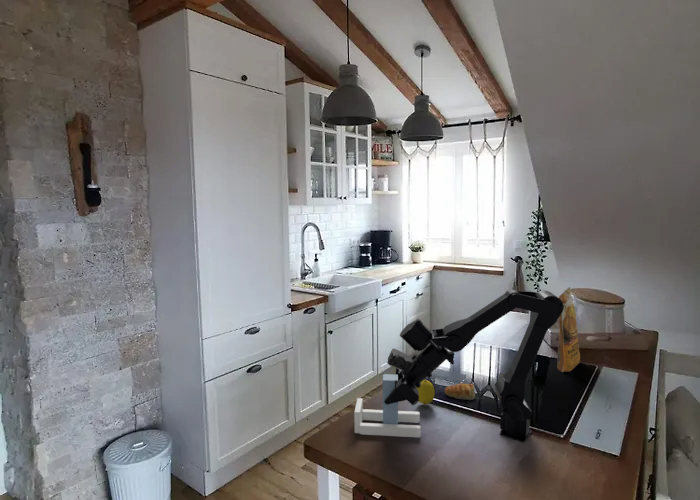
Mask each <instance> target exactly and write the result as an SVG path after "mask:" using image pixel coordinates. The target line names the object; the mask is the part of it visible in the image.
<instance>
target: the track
mask: <svg viewBox="0 0 700 500" xmlns="http://www.w3.org/2000/svg"><path fill="white" fill-rule="evenodd" d="M363 403H364V399H363V397H362V398H361V397H357V398H356V402H355V406H354V407H355V409H354V416H353V417H354V419H353V420H354V434H360V435H363V436H364V435H366V436H382V437H383V436H386V437H387V436H388V437H405V438H421V433H422V430H421V425H417V424H416V425H413V424H398V425H397V424H383V423H377V422H383V409H366V408H365V409H364V404H363ZM420 416H421V415H420V411H413V410H412V411H410V410H398V423H420V422H421V421H420ZM363 421H370V422H363ZM371 421H374V422H375V423H373V422H371Z"/></svg>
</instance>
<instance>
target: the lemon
mask: <svg viewBox="0 0 700 500" xmlns="http://www.w3.org/2000/svg"><path fill="white" fill-rule="evenodd" d="M416 388H417V389H418V392H419V401H418V402H419V403H421V404H423V406H426V405H429V404H431V403H432V402H433V400H434V398H435V395H436V394H435V388H434V384H432V382H430V381H429V380H427V379H424V380H423V381H422V382H421V386H420V387H419V388H418V387H417V386H416Z"/></svg>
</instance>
